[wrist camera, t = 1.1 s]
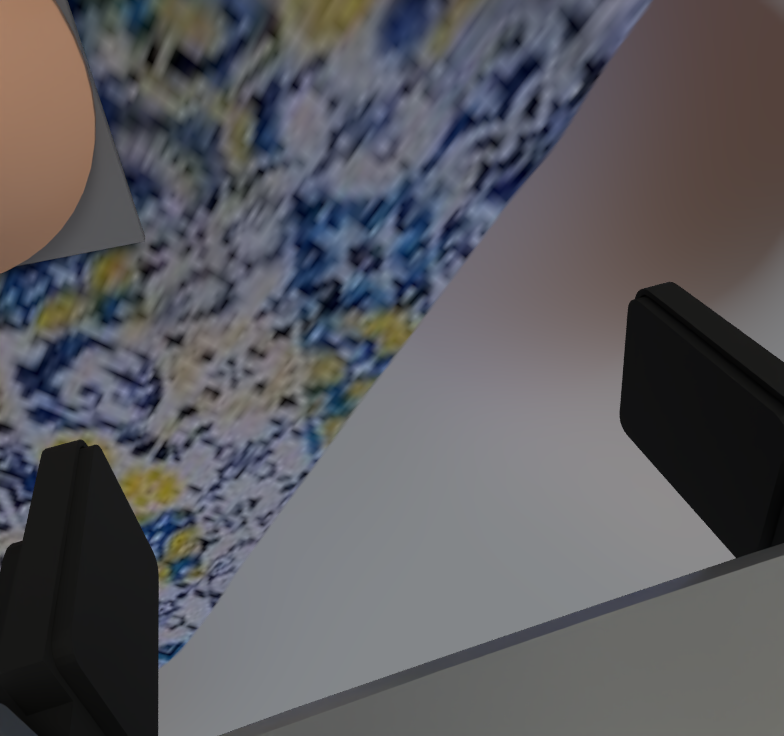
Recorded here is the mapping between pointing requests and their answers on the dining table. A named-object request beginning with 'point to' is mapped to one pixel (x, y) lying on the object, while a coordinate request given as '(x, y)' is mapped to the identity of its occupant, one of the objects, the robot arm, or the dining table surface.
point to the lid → (40, 126)
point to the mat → (96, 194)
